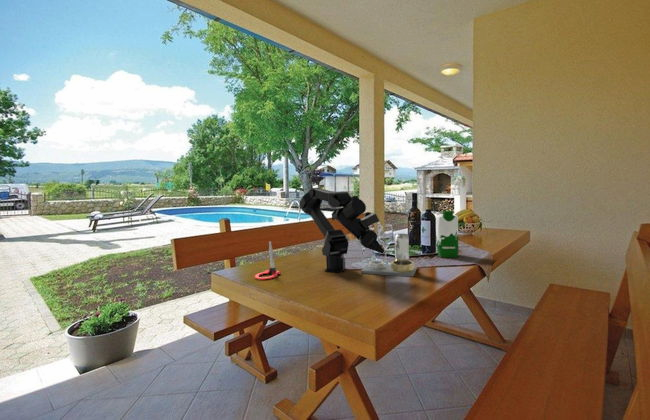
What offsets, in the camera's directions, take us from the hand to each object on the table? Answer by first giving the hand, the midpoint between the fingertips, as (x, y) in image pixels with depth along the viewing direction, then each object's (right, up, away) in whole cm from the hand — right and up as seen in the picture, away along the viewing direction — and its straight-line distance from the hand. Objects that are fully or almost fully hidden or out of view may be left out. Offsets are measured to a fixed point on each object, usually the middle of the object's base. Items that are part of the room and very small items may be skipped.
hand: (381, 249), depth 121 cm
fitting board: (+4, -8, +3) cm, 9 cm away
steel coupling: (+8, -7, +1) cm, 11 cm away
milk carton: (+33, -6, +23) cm, 41 cm away
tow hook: (-43, -11, +2) cm, 44 cm away
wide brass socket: (+8, -8, +1) cm, 12 cm away
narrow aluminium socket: (-1, -8, +5) cm, 10 cm away
